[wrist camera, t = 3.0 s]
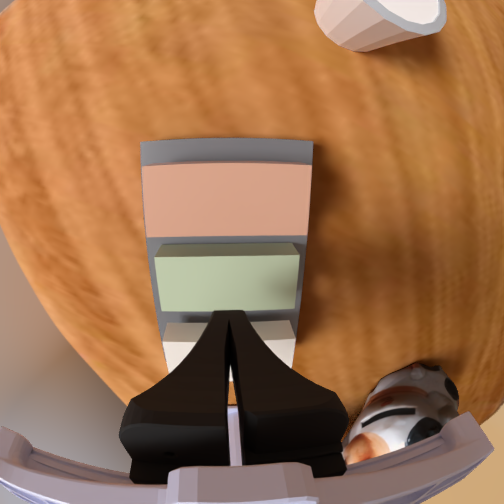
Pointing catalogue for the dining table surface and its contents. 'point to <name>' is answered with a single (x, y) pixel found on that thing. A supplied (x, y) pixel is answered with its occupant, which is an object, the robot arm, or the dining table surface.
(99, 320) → the dining table surface
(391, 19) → the shot glass
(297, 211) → the terracotta button
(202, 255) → the sage button
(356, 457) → the lucky cat figurine
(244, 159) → the button panel
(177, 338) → the off-white button
